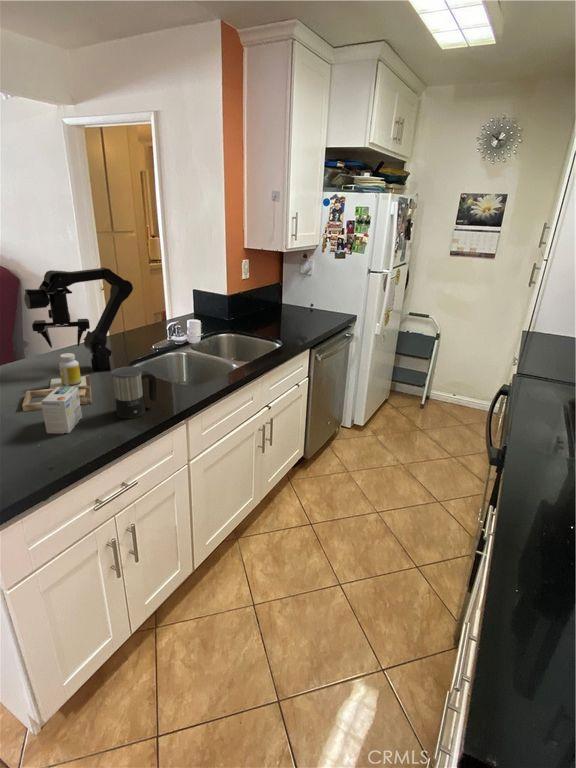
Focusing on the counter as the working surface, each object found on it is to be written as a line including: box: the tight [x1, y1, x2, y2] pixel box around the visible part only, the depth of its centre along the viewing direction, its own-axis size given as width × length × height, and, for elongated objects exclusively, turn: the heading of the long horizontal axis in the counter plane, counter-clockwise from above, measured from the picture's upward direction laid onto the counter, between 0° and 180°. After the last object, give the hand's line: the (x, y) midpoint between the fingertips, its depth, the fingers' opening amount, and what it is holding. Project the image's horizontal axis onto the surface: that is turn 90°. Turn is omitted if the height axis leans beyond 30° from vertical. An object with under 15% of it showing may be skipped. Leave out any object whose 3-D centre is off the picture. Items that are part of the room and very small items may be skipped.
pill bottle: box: [58, 352, 81, 387], centre depth 151 cm, size 6×6×12 cm
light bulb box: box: [40, 387, 83, 434], centre depth 124 cm, size 11×7×11 cm, turn 5°
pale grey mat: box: [49, 375, 87, 389], centre depth 154 cm, size 13×13×1 cm
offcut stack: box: [78, 389, 87, 398], centre depth 144 cm, size 7×6×3 cm
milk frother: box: [111, 366, 158, 419], centre depth 137 cm, size 14×16×15 cm
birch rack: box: [22, 374, 92, 412], centre depth 141 cm, size 20×12×6 cm, turn 114°
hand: (65, 346), depth 157 cm, fingers open, 9 cm apart
